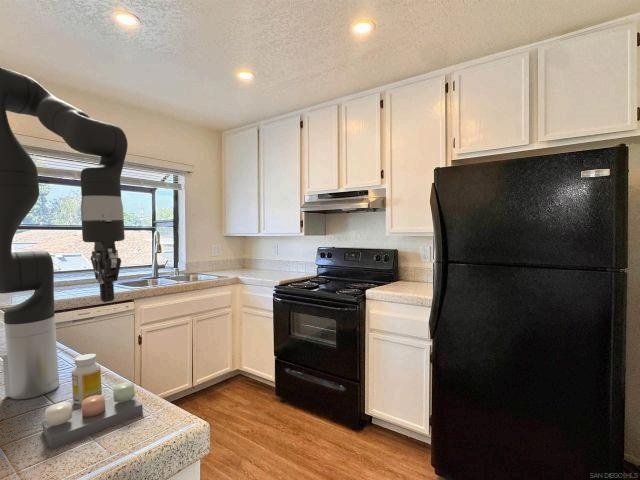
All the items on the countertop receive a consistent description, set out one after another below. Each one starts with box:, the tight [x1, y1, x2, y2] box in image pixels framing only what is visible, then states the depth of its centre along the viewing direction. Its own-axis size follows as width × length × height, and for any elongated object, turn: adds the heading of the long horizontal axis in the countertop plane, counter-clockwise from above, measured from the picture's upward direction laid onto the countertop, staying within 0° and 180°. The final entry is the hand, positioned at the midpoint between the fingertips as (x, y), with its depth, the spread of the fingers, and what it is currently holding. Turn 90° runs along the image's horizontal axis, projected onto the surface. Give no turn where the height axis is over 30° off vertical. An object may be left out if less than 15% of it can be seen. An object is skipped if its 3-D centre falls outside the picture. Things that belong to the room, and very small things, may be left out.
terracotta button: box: [81, 394, 106, 417], centre depth 69 cm, size 4×4×2 cm
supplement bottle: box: [71, 353, 103, 405], centre depth 79 cm, size 5×5×10 cm
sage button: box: [112, 381, 136, 402], centre depth 73 cm, size 4×4×2 cm
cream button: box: [45, 401, 73, 426], centre depth 65 cm, size 4×4×2 cm
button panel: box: [41, 396, 144, 450], centre depth 69 cm, size 15×8×2 cm, turn 136°
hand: (107, 300), depth 75 cm, fingers closed
